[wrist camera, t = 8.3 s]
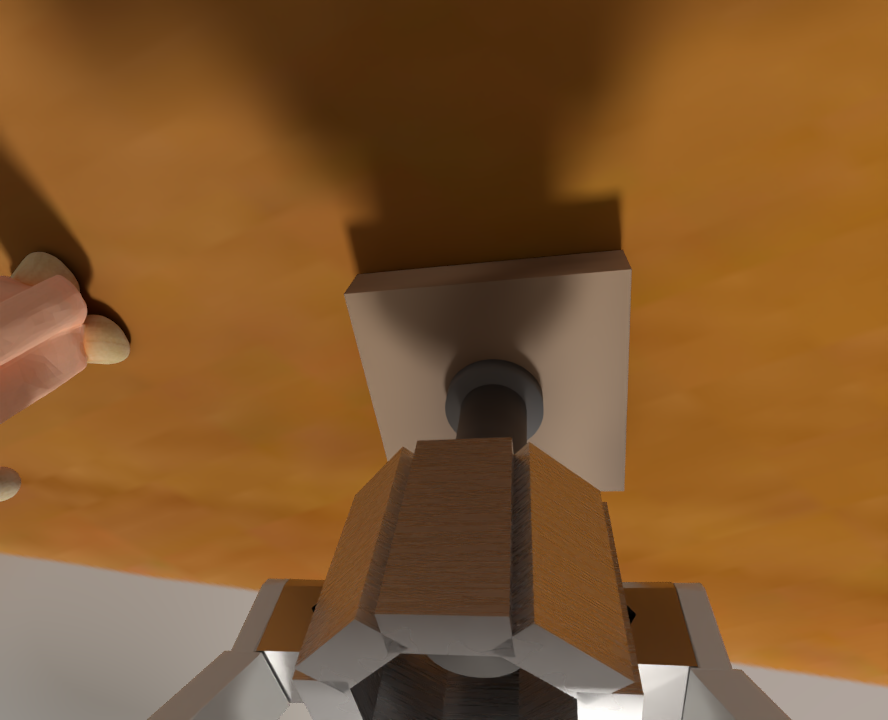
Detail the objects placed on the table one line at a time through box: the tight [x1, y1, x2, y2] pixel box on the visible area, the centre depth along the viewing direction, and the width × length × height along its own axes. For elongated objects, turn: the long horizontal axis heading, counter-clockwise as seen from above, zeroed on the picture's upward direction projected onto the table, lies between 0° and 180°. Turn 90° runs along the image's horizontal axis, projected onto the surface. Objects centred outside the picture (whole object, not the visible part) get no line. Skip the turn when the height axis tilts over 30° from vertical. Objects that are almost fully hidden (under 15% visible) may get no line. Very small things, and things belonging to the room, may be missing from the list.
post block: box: [344, 250, 632, 678], centre depth 14 cm, size 8×8×10 cm
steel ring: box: [292, 437, 644, 720], centre depth 11 cm, size 6×6×4 cm
